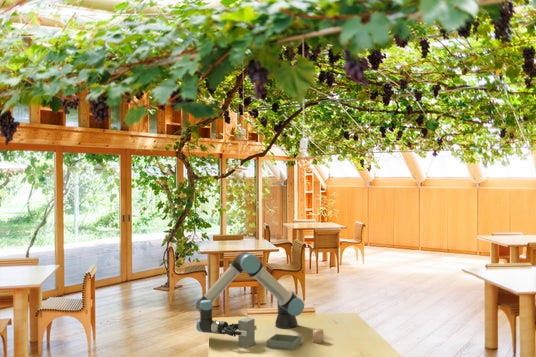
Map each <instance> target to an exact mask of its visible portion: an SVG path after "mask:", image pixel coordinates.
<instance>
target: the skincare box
mask: <svg viewBox="0 0 536 357" xmlns="http://www.w3.org/2000/svg"><path fill="white" fill-rule="evenodd" d="M237 322H238V323H237V324H238V330H240V331H247V336H240V335H237V336H238V338H237V339H238V346H239V347H242V348H246V349H247V348H249V347H251V346H253V345H255V341H256V340H255V334H256V332H255V331H256V330H255V325H256V323H255V318H253V317H249V316H246V317H243V318H241V319H238V321H237Z"/></svg>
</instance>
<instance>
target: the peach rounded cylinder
mask: <svg viewBox="0 0 536 357" xmlns="http://www.w3.org/2000/svg"><path fill="white" fill-rule="evenodd" d="M324 337H325V336H324V329H321V328H314V329H312V343H314V344H323V343H324Z"/></svg>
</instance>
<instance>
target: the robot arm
mask: <svg viewBox="0 0 536 357" xmlns="http://www.w3.org/2000/svg"><path fill="white" fill-rule="evenodd" d="M243 272H244V273H246V275H248V276H249V277H250V278H251V279H252V278H253V279H255V280H256V281H257V282H258V283H260V285H262V287H264V288H265V289H266V290H267V292H269V293H270V294H271V295H272V296H273V297H274V298H275V299H276V300H277V302H276V303H277V304H276V305H277V315H276V319H275V323H274V324H275V325H274V326H275V327H276V328H279V329H293V328H296V327H298V324H299V322H298V319H297V316H300V315H301V314H302V313H303V311H304V309H305V302H304V301H303V299H302V298H301V297H298V296H297V295H296V294H295V291H291V290H287V289H286V287H284V286H283V285H282V284H281V283H280V282H279V281H278V280H277V279H276V278H275V277H274V276H273V275H272V274H271V273H270V272H268V270H266V268H264V263H262V262H261V261H260V259H259V257H258V256H257V255H255V254H253V253H249V252H247V251H243V252H240V253H239V254H238V255H237V256H236V257H235V258H234V259H233V260H232V261H231V262H230V263H229V267H227V268H226V270H225V271H224V272H223V274H221V276H219V278H218V279H217V280H216V281H215V282H214V284H213V285H212V286H210V288H209V289H208V290H207V292H205V294H204V295H203V296H202V297H201V298H199V299H196V301H195V304H194V305H195V308H196V310H197V311H198V312H199V313H200V314H199V316H200V317H199V319H198V320H197V321H196V325H195V326H196V327H195V328H196V330H197V331H198V332H200V333H203V334H204V333H208V334H217V335H228V336H231V337H237V336H238V335H240V336H247V331H240V330H238V323H231V324H229V323H228V322H227V321H223V320H216V319H215V320H214V319H213V303H214V302H215V300H217V299H218V298H219V297H220V295H221V294H222V293H223V292H224V291H225V290H226V288H227V287H228V286H229V285H231V283H232V282H233V281H234V280H235V278H236V277H237V276H238V275H241V274H242V273H243ZM255 331H257V325H256V324H255Z"/></svg>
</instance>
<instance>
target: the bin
mask: <svg viewBox="0 0 536 357" xmlns="http://www.w3.org/2000/svg"><path fill="white" fill-rule="evenodd" d="M302 339H303V338H302V336H301V335H294V334H293V335H292V334H281V333H275V334H273V335H272V336H271V337H269V338H267V339H266V348H270V349H280V350H288V351H289V350H291V351H294V350H296V348H297V347H300V345H301V344H302V342H303V340H302Z"/></svg>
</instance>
